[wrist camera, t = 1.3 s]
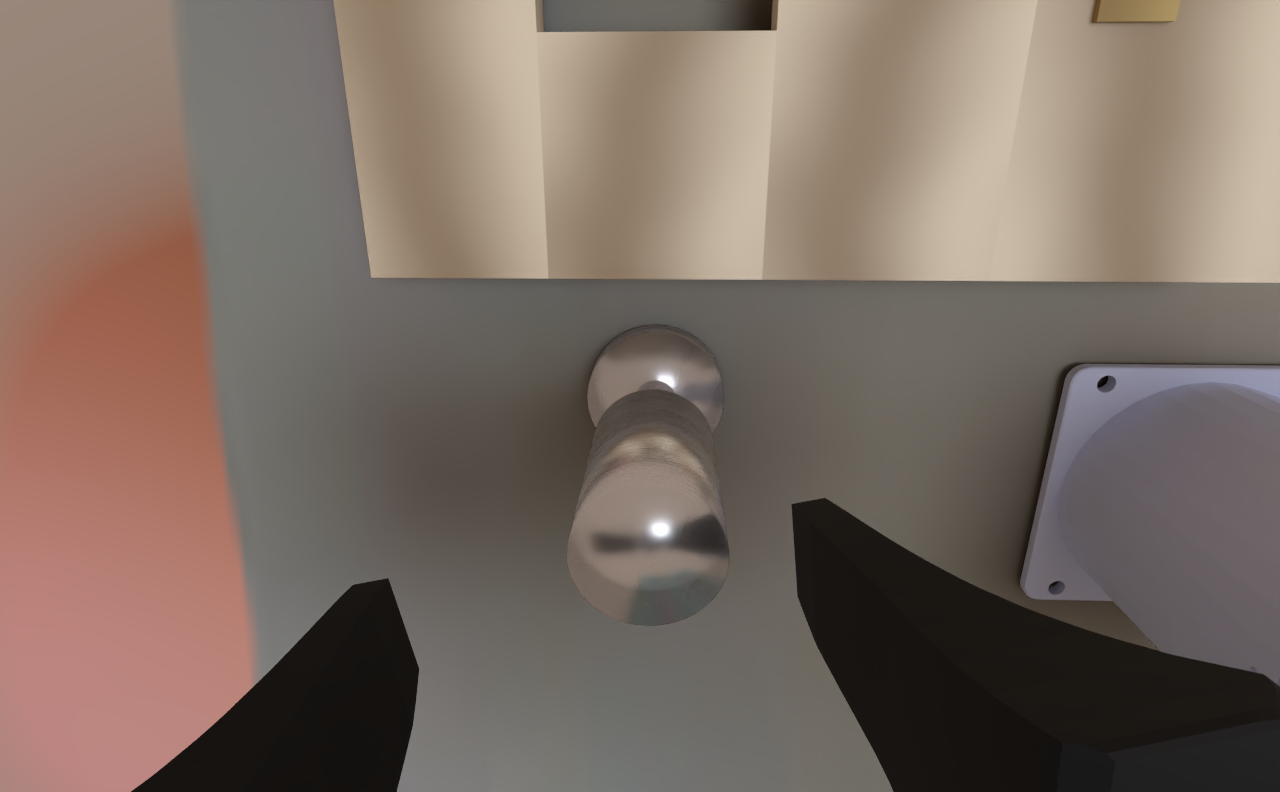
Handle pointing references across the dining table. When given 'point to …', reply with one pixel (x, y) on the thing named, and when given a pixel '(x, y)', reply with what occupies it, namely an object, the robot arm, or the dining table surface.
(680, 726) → the dining table surface
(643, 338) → the peg
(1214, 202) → the keyhole plate
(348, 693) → the robot arm
